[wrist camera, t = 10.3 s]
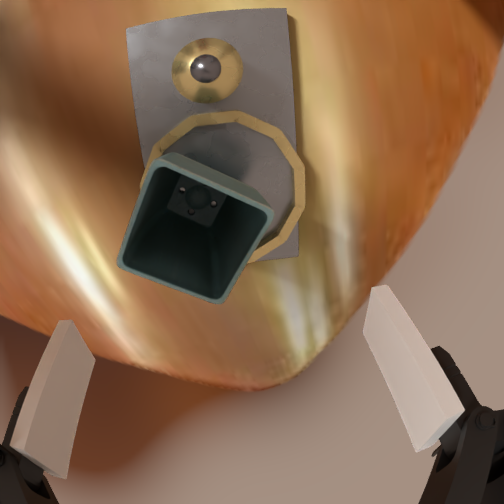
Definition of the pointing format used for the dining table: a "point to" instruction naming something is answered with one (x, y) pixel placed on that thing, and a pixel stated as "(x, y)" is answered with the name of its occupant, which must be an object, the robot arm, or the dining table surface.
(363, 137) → the dining table surface
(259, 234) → the flower pot
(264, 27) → the board
